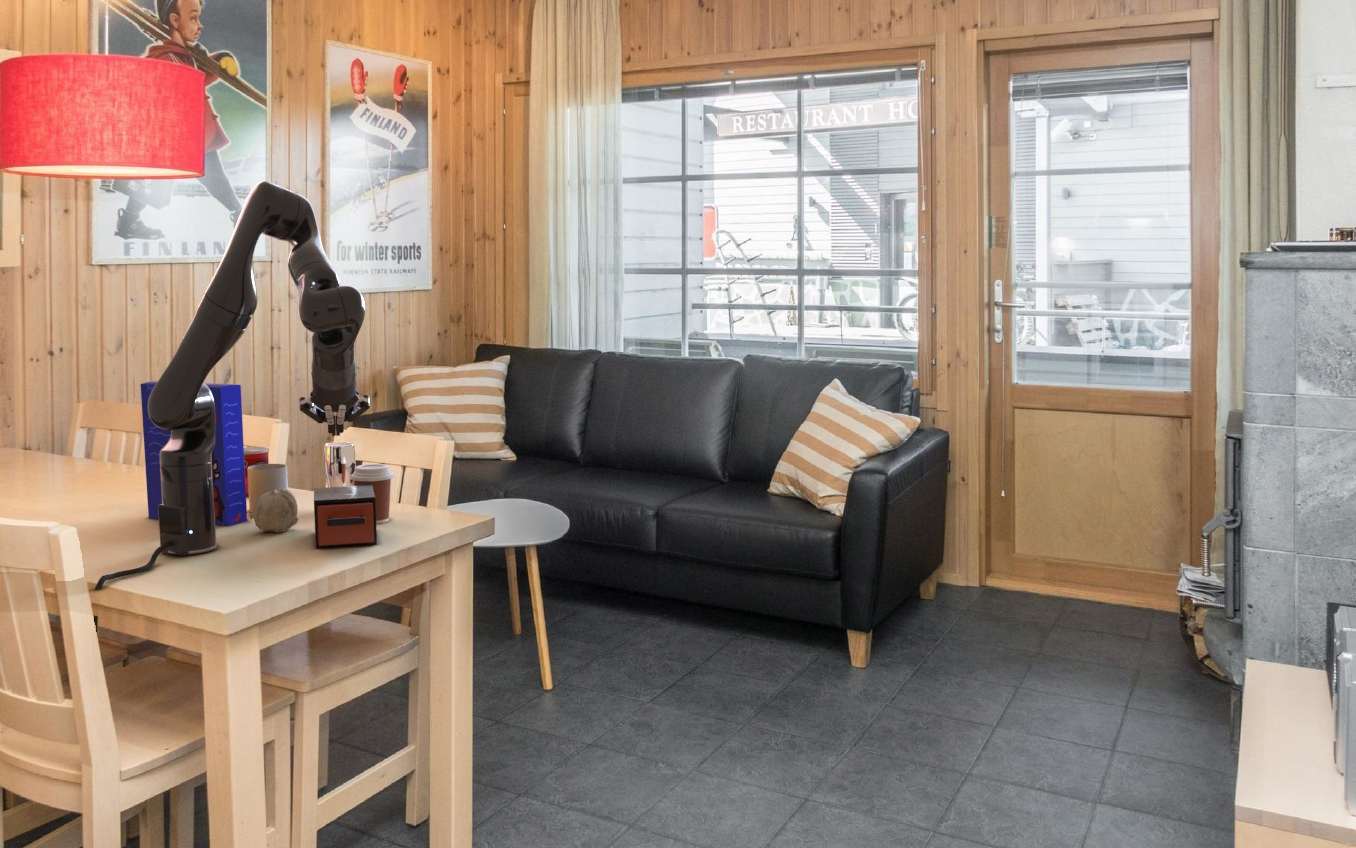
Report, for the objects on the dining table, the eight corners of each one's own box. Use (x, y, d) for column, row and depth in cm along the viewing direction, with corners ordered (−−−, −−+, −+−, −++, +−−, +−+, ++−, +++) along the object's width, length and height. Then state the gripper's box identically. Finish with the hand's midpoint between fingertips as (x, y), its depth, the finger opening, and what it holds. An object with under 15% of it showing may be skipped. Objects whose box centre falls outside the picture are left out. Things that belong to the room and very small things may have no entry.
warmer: (376, 544, 225) (375, 497, 224) (315, 548, 222) (313, 500, 220) (373, 529, 238) (372, 485, 237) (315, 533, 235) (314, 488, 233)
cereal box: (247, 520, 247) (240, 383, 243) (227, 526, 241) (220, 386, 238) (169, 512, 255) (161, 380, 251) (148, 518, 249) (140, 382, 245)
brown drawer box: (375, 547, 219) (373, 508, 218) (318, 551, 216) (317, 511, 215) (371, 528, 235) (369, 491, 234) (318, 532, 232) (317, 494, 231)
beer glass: (348, 512, 255) (345, 446, 253) (320, 511, 257) (317, 445, 255) (362, 506, 262) (360, 442, 260) (335, 505, 263) (332, 441, 261)
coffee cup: (378, 514, 253) (376, 461, 252) (404, 520, 247) (402, 466, 246) (343, 521, 246) (341, 467, 245) (368, 527, 240) (366, 471, 239)
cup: (241, 511, 256) (239, 468, 255) (270, 505, 263) (268, 462, 262) (268, 515, 252) (266, 471, 251) (296, 508, 259) (294, 465, 258)
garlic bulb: (294, 538, 240) (309, 493, 241) (286, 541, 232) (301, 494, 233) (250, 526, 239) (265, 480, 240) (241, 528, 231) (256, 481, 232)
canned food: (234, 492, 279) (231, 448, 277) (268, 489, 282) (266, 446, 281) (236, 497, 272) (234, 452, 270) (271, 495, 275) (269, 450, 274)
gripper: (371, 356, 205) (370, 415, 218) (294, 357, 201) (298, 418, 214) (373, 388, 201) (373, 446, 214) (295, 390, 197) (299, 449, 210)
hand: (335, 432), depth 214 cm, fingers closed
